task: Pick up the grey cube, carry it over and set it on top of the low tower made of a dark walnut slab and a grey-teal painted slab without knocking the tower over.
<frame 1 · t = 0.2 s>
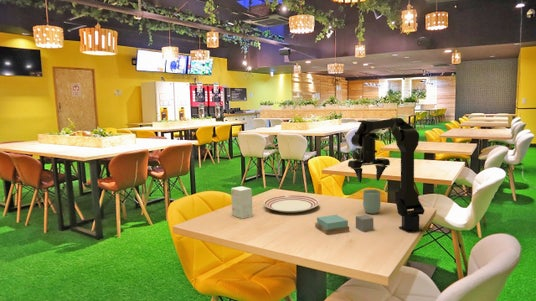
hand: (368, 181, 175), 14 cm above the table, tool pointing down, fingers open, 9 cm apart
tower top: (332, 224, 153), point 2 cm above the table, touching tower bottom
dinner plate: (291, 208, 188), on the table
small box: (242, 216, 176), on the table
tower bottom: (331, 230, 154), on the table, touching tower top
grey cube: (364, 229, 153), on the table
cup: (371, 213, 175), on the table
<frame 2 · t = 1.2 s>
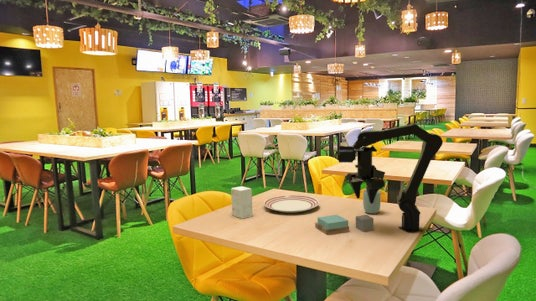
hand: (364, 200, 153), 11 cm above the table, tool pointing down, fingers open, 9 cm apart
nothing on the table moved.
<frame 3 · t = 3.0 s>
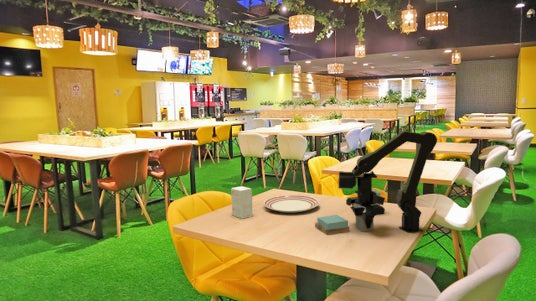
hand: (364, 226, 153), 1 cm above the table, tool pointing down, fingers closed on grey cube, 5 cm apart
grey cube: (364, 229, 153), on the table, touching gripper
everything else where it was.
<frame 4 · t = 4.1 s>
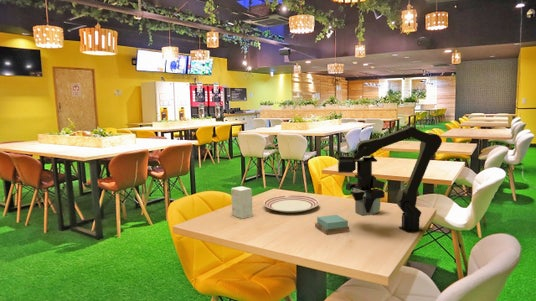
hand: (364, 211, 152), 7 cm above the table, tool pointing down, fingers closed on grey cube, 5 cm apart
grey cube: (364, 213, 152), point 6 cm above the table, touching gripper
everything else where it was.
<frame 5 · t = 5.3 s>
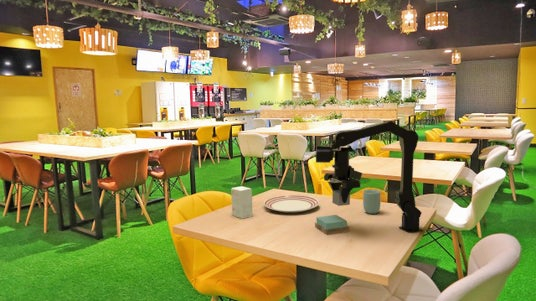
hand: (341, 201, 152), 12 cm above the table, tool pointing down, fingers closed on grey cube, 5 cm apart
grey cube: (341, 203, 152), point 11 cm above the table, touching gripper
everything else where it was.
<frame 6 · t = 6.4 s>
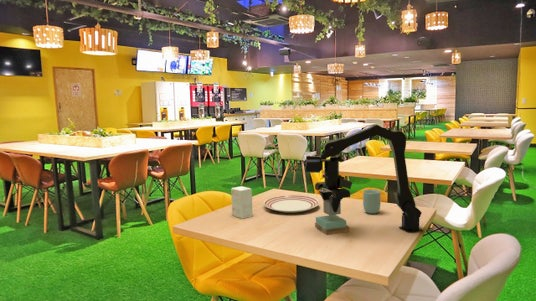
hand: (332, 210, 153), 8 cm above the table, tool pointing down, fingers closed on grey cube, 5 cm apart
grey cube: (332, 213, 153), point 7 cm above the table, touching gripper
everything else where it was.
when the fingers open (7 cm above the table, at t = 7.6 s): grey cube drops 2 cm, resting on tower top.
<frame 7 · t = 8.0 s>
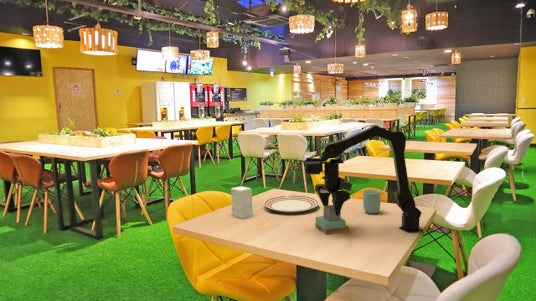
hand: (331, 212, 153), 7 cm above the table, tool pointing down, fingers open, 9 cm apart
tower top: (330, 224, 154), point 2 cm above the table, touching grey cube, tower bottom
grey cube: (331, 218, 153), point 4 cm above the table, touching tower top
everything else where it was.
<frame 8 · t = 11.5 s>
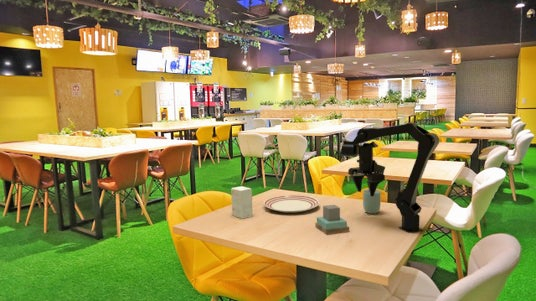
hand: (365, 194, 161), 12 cm above the table, tool pointing down, fingers open, 9 cm apart
tower top: (331, 225, 153), point 2 cm above the table, touching tower bottom
grey cube: (331, 218, 154), point 4 cm above the table
everything else where it was.
at the end: grey cube 0.5 cm off-centre on the tower top, point 2.5 cm above the tower top's base; grey cube tilted 0°; tower top 0.4 cm off-centre on the tower bottom, point 2.5 cm above the tower bottom's base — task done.
